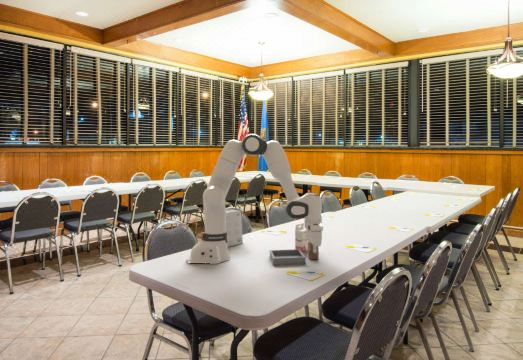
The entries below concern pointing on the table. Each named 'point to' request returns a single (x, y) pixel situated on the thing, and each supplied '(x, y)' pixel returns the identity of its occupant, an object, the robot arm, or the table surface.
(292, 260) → the sorting tray
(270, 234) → the table surface
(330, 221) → the table surface
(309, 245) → the walnut block
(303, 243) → the ink cartridge box
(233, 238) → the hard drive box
